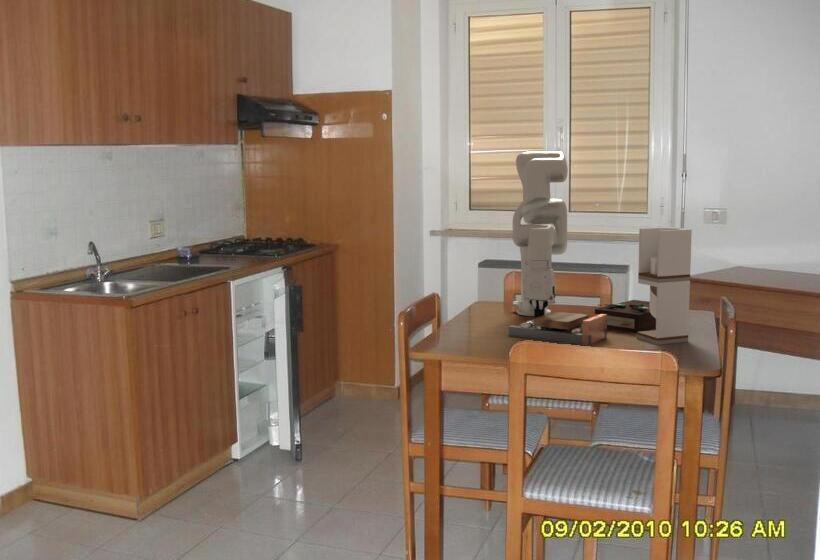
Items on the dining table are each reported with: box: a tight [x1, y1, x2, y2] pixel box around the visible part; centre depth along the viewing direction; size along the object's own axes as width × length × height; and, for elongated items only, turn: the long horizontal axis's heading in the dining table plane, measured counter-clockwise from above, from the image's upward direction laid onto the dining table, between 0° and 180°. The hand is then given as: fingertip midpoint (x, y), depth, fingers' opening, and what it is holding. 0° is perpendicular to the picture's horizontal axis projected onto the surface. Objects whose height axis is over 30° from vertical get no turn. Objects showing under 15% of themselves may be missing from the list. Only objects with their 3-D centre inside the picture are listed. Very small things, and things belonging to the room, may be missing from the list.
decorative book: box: [594, 299, 656, 334], centre depth 294 cm, size 19×8×30 cm
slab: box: [533, 311, 590, 330], centre depth 275 cm, size 12×15×2 cm
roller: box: [564, 324, 583, 334], centre depth 272 cm, size 4×8×4 cm, turn 144°
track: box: [508, 314, 608, 346], centre depth 276 cm, size 28×14×8 cm, turn 54°
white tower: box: [636, 226, 693, 346], centre depth 267 cm, size 11×11×35 cm
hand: (539, 320), depth 279 cm, fingers closed
